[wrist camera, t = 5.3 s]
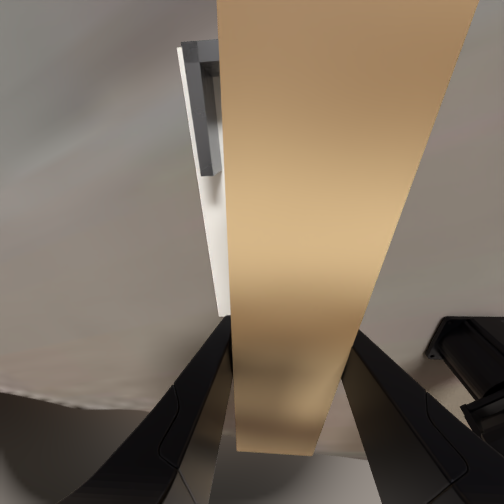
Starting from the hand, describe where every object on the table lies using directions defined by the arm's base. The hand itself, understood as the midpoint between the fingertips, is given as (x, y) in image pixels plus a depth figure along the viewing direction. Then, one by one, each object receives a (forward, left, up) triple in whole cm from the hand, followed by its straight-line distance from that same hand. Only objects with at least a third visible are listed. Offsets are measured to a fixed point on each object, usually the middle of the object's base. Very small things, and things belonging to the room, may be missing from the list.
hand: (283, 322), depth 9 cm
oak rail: (+1, 0, -1) cm, 2 cm away
